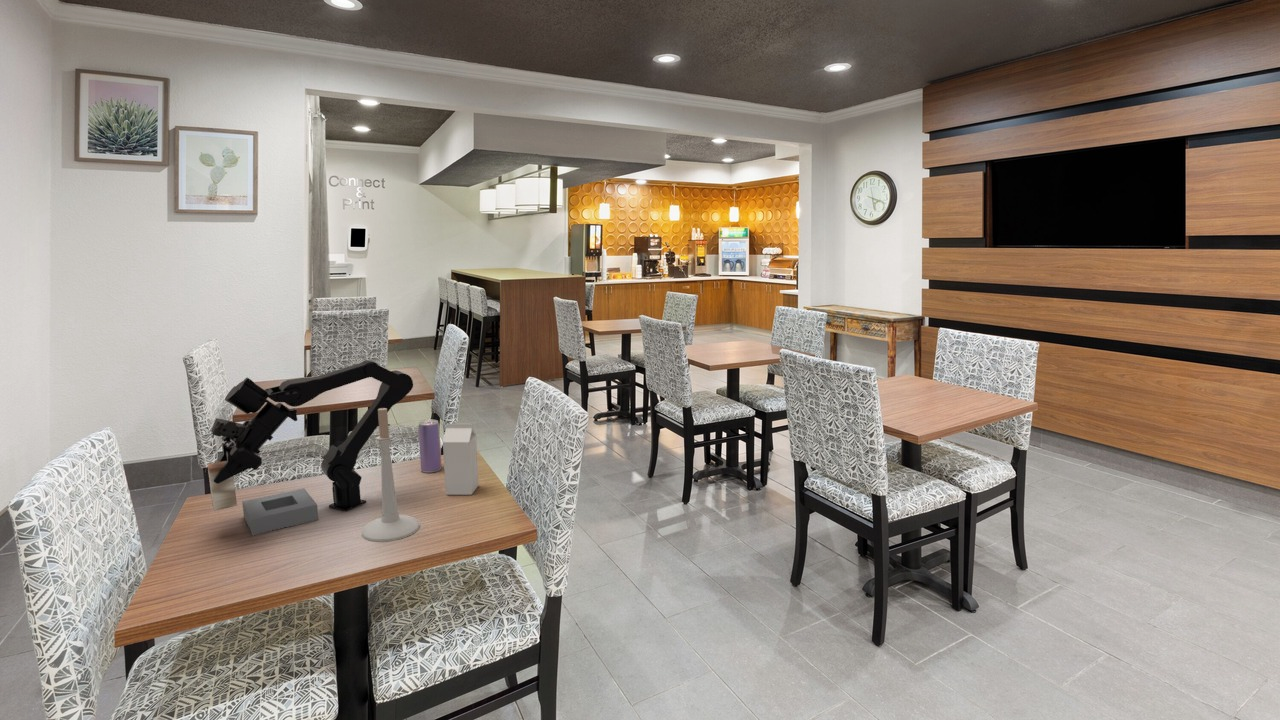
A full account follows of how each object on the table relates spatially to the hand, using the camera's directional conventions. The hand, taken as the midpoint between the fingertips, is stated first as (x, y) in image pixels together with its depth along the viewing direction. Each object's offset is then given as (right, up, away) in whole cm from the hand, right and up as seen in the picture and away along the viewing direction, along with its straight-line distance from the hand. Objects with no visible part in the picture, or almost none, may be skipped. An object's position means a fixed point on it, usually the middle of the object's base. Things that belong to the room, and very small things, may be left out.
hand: (214, 479), depth 147 cm
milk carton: (+49, -9, +29) cm, 58 cm away
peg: (+1, -6, +2) cm, 7 cm away
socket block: (+9, -12, +11) cm, 19 cm away
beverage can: (+35, -6, +46) cm, 58 cm away
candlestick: (+39, -13, +5) cm, 41 cm away
